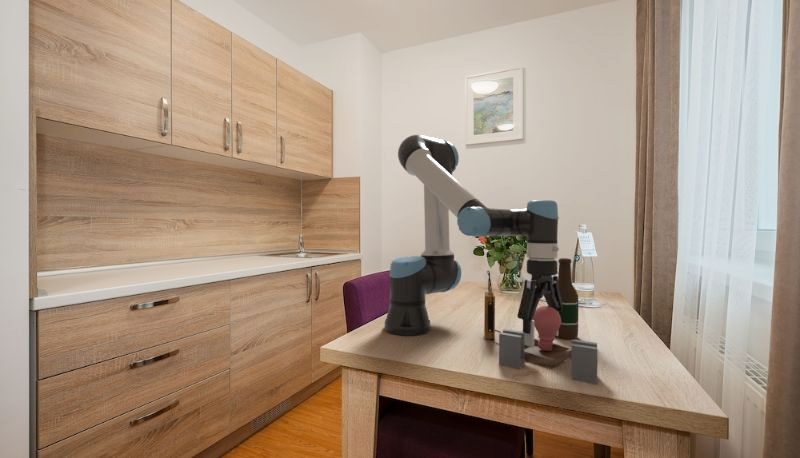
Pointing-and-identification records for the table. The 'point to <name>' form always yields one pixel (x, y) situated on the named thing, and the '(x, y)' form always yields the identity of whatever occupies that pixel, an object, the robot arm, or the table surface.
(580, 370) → the grey flat block
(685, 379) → the table surface
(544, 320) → the light bulb
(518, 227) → the robot arm
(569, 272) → the beer bottle
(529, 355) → the shallow rectangular tray
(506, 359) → the grey block
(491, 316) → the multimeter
